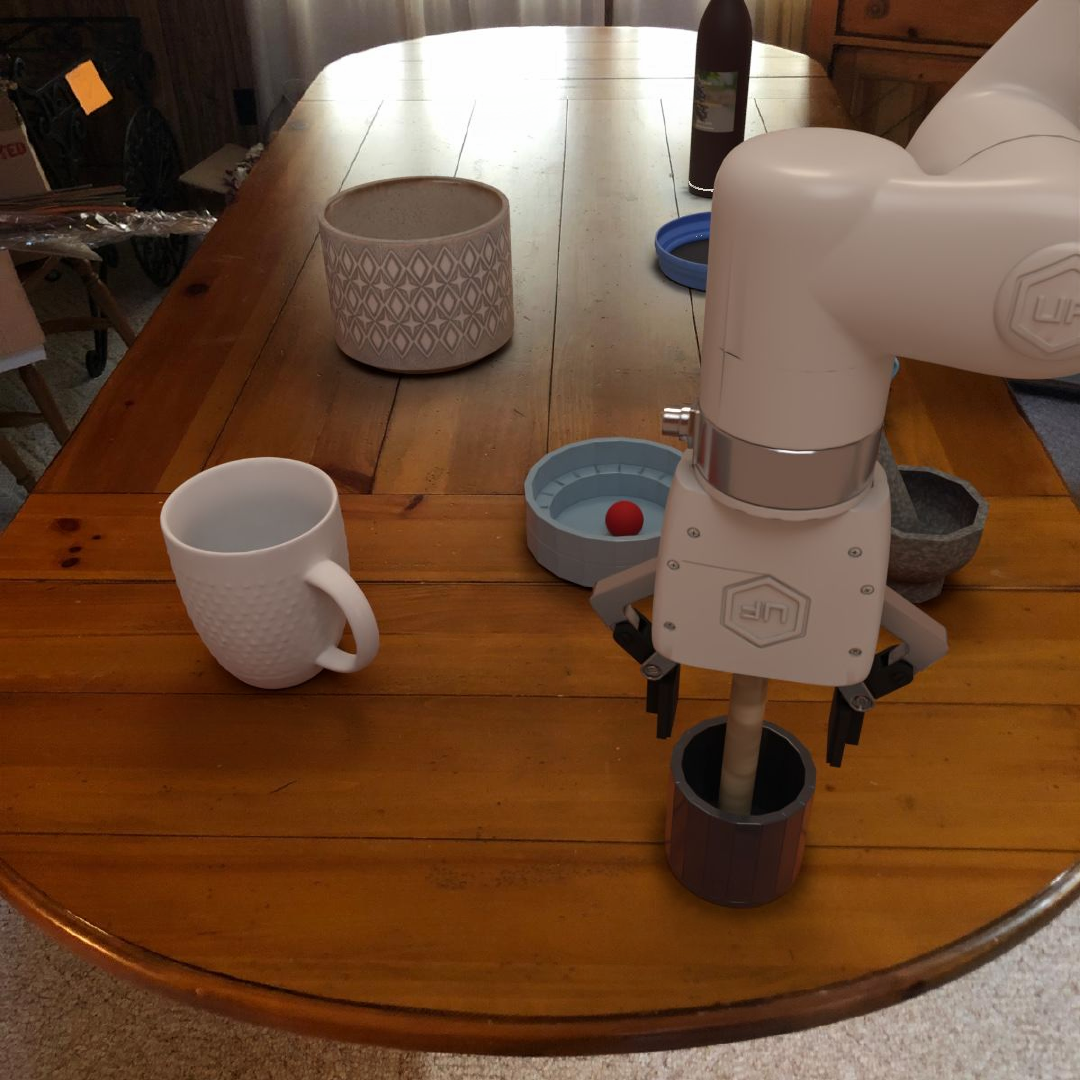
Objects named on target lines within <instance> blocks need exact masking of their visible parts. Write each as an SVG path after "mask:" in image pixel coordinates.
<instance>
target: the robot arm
mask: <svg viewBox="0 0 1080 1080" xmlns="http://www.w3.org/2000/svg"><path fill="white" fill-rule="evenodd" d="M710 208H711V223H710V239H709V254H708V269H707V285H706V291H705V302H704V316H703V317H704V318H703V331H702V343H701V344H702V345H701V356H700V357H701V360H700V369H699V370H700V372H699V385H698V397H696V396H693V398H692V402H691V403H682V405H674V404H673V405H671V404H665V406H664V409H663V414H662V421H661V436H663V437H673V438H678V441H682V442H687V447H686V449H685V450H684V451H683V455H682V457H681V460H680V462H679V463H678V465H677V468H676V471H675V474H674V477H673V480H672V483H671V487H670V490H669V494H668V498H667V502H666V507H665V512H664V518H663V523H662V530H661V537H660V544H659V552H658V556H657V557H655V558H652V559H650V560H647V561H645V562H642V563H640V564H638V565H635V566H633V567H630V568H628V569H625V570H623V571H621V572H618V573H616V574H613V575H611V576H608V577H606V578H604V579H601V580H599V581H597V582H596V583H595V585H594V587H592V590H591V593H590V596H589V599H588V604H589V605H590V607H591V609H592V610H593V612H594V613H595V614H596V615H597V616H598V618H599V619H600V620H601V622H602V623H603V624H604V625H605V626H606V628H609V630H610V631H611V632H612V639H613V640H614V643H616V644H617V645H619V647H620V648H622V649H623V650H624V651H625V652H626V653H627V654H628V655H629V656H630V657H631V658H632V659H633V660H635V661H636V662H637V663H638V664H639V665H640V669H639V671H640V674H641V676H642V677H643V678H645V679H646V696H645V697H646V699H645V700H646V701H645V713H647V714H655V715H656V716H657V717H656V733H655V734H656V735H655V736H656V737H655V738H656V739H659V740H665V741H667V739H669V738H671V737H672V732H673V727H674V724H675V718H676V713H677V709H678V704H679V696H680V682H681V667H682V665H683V666H687V667H693V668H698V669H704V670H711V671H717V672H719V671H720V672H724V673H731V674H732V673H737V674H743V675H750V676H757V677H764V678H769V679H771V680H778V681H786V682H793V683H799V684H800V683H801V684H806V685H807V684H808V685H814V686H815V685H816V686H823V687H833V693H832V694H833V695H832V699H831V704H830V709H829V716H828V721H827V734H826V735H827V736H826V755H825V764H829V767H831V768H838V769H841V767H842V763H843V757H844V753H845V747H846V745H851V746H857V747H858V746H859V743H860V739H861V734H862V729H863V724H864V719H865V714H866V713H867V712H870V711H872V710H873V709H874V708H875V706H876V700H878V699H881V698H883V697H885V696H887V695H889V694H891V693H893V692H896V691H897V690H900V689H902V688H905V687H906V686H908V685H910V684H911V683H912V682H913V681H914V677H915V675H918V673H920V672H924V671H926V670H927V669H929V668H930V667H931V666H932V665H934V664H935V663H936V662H938V661H939V660H941V659H942V658H944V657H945V656H946V655H947V654H948V653H949V651H950V647H949V635H948V629H947V628H946V627H945V626H944V625H943V624H941V623H940V622H938V621H937V620H935V619H934V617H932V616H930V615H929V614H927V613H926V612H924V610H922V609H920V607H918V606H916V605H915V604H914V603H910V602H909V601H908V600H906V599H905V598H903V597H902V596H901V595H899V594H898V593H897V592H895V591H894V590H892V589H891V588H890V587H888V586H887V585H886V579H887V571H888V563H889V552H890V540H891V503H890V491H889V486H888V483H887V476H886V473H885V470H884V469H883V467H882V466H881V464H880V463H879V462H878V461H877V454H878V449H879V444H880V438H881V433H882V427H883V422H884V423H885V415H886V411H887V405H888V400H889V394H890V388H891V382H892V380H891V378H892V373H893V367H894V362H895V357H901V358H906V359H910V360H916V361H921V362H926V363H931V364H936V365H940V366H945V367H949V368H953V369H958V370H963V371H967V372H973V373H978V374H983V375H986V376H993V377H999V378H1000V377H1001V378H1008V379H1016V380H1017V379H1019V380H1051V379H1058V378H1059V379H1060V378H1065V377H1071V376H1075V375H1079V374H1080V0H1037V2H1035V3H1034V4H1033V5H1032V6H1031V7H1030V8H1029V9H1027V11H1026V12H1025V13H1024V14H1023V15H1022V16H1020V18H1019V19H1018V20H1017V21H1015V23H1013V25H1012V26H1010V28H1009V29H1008V30H1006V32H1005V33H1004V34H1003V35H1002V36H1001V37H1000V38H999V39H997V41H996V42H995V43H994V44H993V45H992V46H991V47H990V48H989V49H988V50H987V51H986V52H985V53H984V54H983V55H982V56H981V58H979V59H978V60H977V61H976V63H974V64H973V65H972V66H971V68H969V69H968V70H967V72H965V73H964V75H962V77H960V78H959V80H958V81H957V82H956V83H955V84H954V85H952V87H951V88H950V89H949V90H948V91H947V92H946V93H945V95H944V96H942V97H941V99H940V100H939V101H938V102H937V103H936V105H935V106H934V107H933V108H932V109H931V111H930V112H929V113H928V114H927V116H926V117H925V119H924V120H923V121H922V122H921V124H920V125H919V126H918V128H917V129H916V131H915V133H914V134H913V135H912V138H911V139H910V141H909V142H908V144H907V146H906V147H905V148H903V147H902V146H901V145H899V144H898V143H896V142H894V141H891V140H889V139H887V138H883V137H880V136H878V135H875V134H871V133H867V132H864V131H858V130H853V129H845V128H837V127H823V126H822V127H818V126H812V127H809V126H808V127H792V128H784V129H778V130H773V131H768V132H765V133H761V134H757V135H754V136H751V137H749V138H747V139H745V140H744V142H742V143H741V144H739V145H738V146H736V147H735V148H734V149H733V150H732V151H730V153H729V154H728V155H727V156H726V158H725V159H724V160H723V162H722V164H721V166H720V168H719V171H718V173H717V175H716V179H715V182H714V190H713V198H712V200H711V207H710ZM892 379H893V378H892ZM652 596H653V598H652V599H653V600H652V612H651V613H652V614H651V615H652V616H651V620H649V619H648V618H647V617H646V616H645V614H643V613H642V612H641V611H640V610H639V609H638V608H635V607H633V606H632V604H635V603H637V602H640V601H642V600H644V599H647V598H650V597H652ZM880 627H882V628H883V629H884V630H886V631H887V632H889V633H890V634H892V635H893V636H894V637H895V638H897V639H899V641H901V643H898V644H897V643H896V644H893V645H891V646H888V647H886V648H884V649H882V650H881V651H879V652H877V653H876V649H877V644H878V640H879V635H880Z"/></svg>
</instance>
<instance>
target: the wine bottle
mask: <svg viewBox="0 0 1080 1080" xmlns="http://www.w3.org/2000/svg"><path fill="white" fill-rule="evenodd" d="M698 25H699V26H698V29H697V34H696V42H695V59H694V76H693V77H694V78H693V96H692V112H691V127H690V128H691V130H690V147H689V162H688V163H689V165H688V180H689V181H690V183H691V184H692V185H694V186H696V187H699V188H703V189H714V182H715V179H716V175H717V173H718V171H719V168H720V166H721V164H722V162H723V160H724V159H725V158H726V156H727V155H728V154H729V153H730V151H732V150H733V149H734V148H735V147H736V146H738V145H739V144H741V143H742V142H744V141H745V135H746V124H747V123H746V122H747V112H748V100H749V99H748V98H749V89H750V75H751V64H752V54H753V52H752V51H753V34H754V33H753V24H752V18H751V14H750V11H749V8H748V6H747V4H746V2H745V0H709V2H708V4H707V5H706V7H705V9H704V11H703V13H702V16H701V18H700V20H699V24H698ZM687 184H688V190H689V191H690V192H691V193H692V194H694V195H696V196H699V197H704V198H710V199H711V198H713V192H711V191H703V190H698V189H695V188H693V187H691V186H690V185H689V183H688V182H687Z"/></svg>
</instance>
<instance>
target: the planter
mask: <svg viewBox="0 0 1080 1080" xmlns="http://www.w3.org/2000/svg"><path fill="white" fill-rule="evenodd" d="M510 207H511V206H510V200H509V198H508V196H506V194H505V193H504V192H502V191H501V190H500V189H499V188H496V187H494V186H493V185H491V184H488V183H485V182H482V181H479V180H475V179H471V178H463V177H457V176H448V175H409V176H408V175H407V176H398V177H390V178H384V179H378V180H373V181H368V182H364V183H361V184H358V185H354V186H351V187H348V188H345V189H344V190H341V191H339V192H336V193H335V194H333V195H331V196H330V197H329V198H327V199H326V200H325V201H323V203H321V205H320V206H319V208H318V211H317V216H316V217H317V222H318V230H319V236H320V244H321V250H322V257H323V263H324V271H325V278H326V285H327V292H328V298H329V304H330V311H331V318H332V319H331V320H332V325H333V331H334V338H335V342H336V343H335V344H336V345H337V346H338V348H339V349H340V350H341V351H342V352H343V353H344V354H345V355H347V356H348V357H350V358H352V359H354V360H356V361H357V362H360V363H363V364H365V365H369V366H372V367H374V368H376V369H379V370H383V371H386V372H391V373H396V374H405V375H425V374H426V375H428V374H438V373H446V372H449V371H455V370H457V369H458V370H459V369H461V368H464V367H467V366H469V365H472V364H474V363H477V362H478V361H480V360H482V359H483V358H485V357H487V356H489V355H490V354H493V353H494V352H496V351H497V350H499V349H500V348H501V347H503V346H504V345H505V344H506V343H507V342H508V341H509V340H510V338H511V337H512V335H513V333H514V331H515V308H514V306H515V305H514V283H513V259H512V258H513V257H512V256H513V255H512V235H511V234H512V231H511V209H510Z"/></svg>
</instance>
